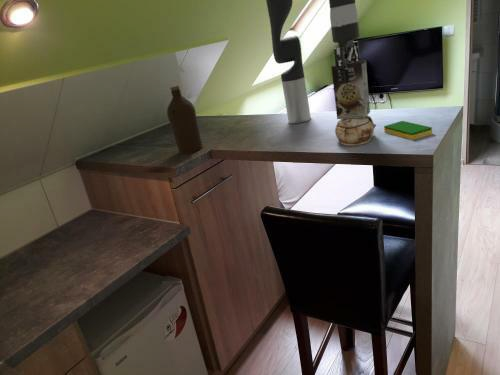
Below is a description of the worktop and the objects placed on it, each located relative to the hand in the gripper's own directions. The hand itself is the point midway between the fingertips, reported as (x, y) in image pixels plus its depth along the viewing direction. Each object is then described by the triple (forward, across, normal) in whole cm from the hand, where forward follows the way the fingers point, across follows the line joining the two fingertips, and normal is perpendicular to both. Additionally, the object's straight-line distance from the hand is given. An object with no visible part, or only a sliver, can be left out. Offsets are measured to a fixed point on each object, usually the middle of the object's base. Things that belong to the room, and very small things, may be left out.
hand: (350, 80), depth 118 cm
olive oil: (+19, +8, -64) cm, 67 cm away
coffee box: (+11, 0, 0) cm, 11 cm away
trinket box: (+19, -1, -1) cm, 19 cm away
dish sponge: (+19, -6, +14) cm, 25 cm away
